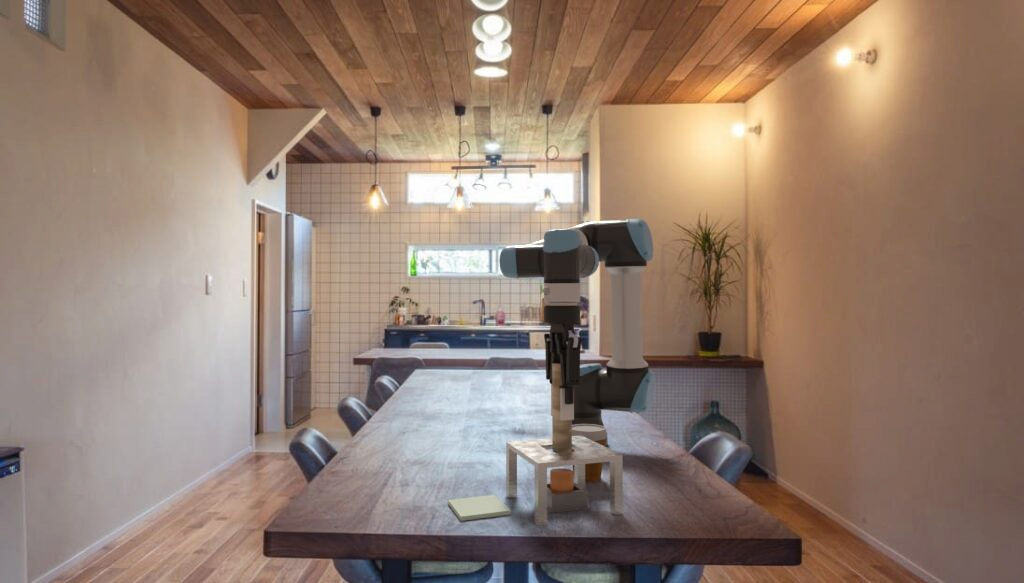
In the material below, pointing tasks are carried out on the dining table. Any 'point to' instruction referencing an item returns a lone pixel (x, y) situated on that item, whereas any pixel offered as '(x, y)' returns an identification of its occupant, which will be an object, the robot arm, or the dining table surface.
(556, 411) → the rod
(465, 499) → the pad
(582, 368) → the robot arm
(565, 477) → the button
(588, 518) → the dining table surface
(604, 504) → the dining table surface
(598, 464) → the disposable coffee cup
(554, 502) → the stand
